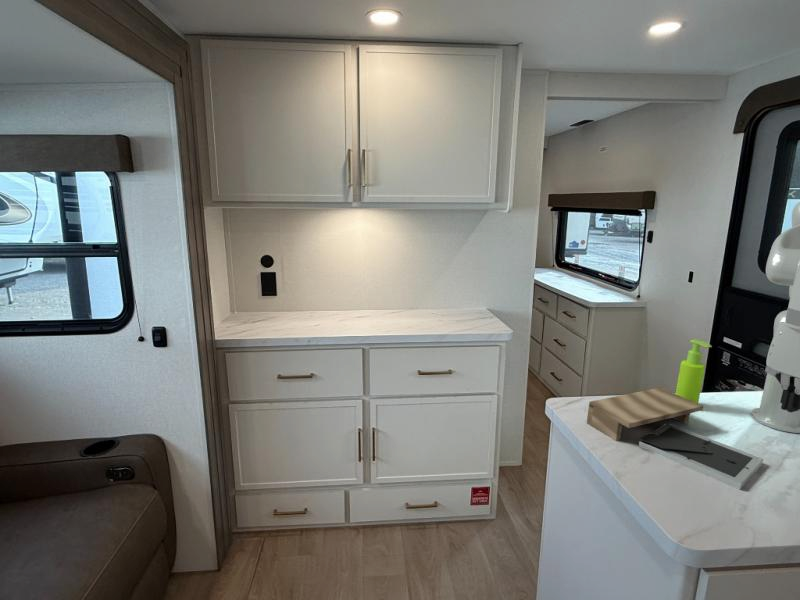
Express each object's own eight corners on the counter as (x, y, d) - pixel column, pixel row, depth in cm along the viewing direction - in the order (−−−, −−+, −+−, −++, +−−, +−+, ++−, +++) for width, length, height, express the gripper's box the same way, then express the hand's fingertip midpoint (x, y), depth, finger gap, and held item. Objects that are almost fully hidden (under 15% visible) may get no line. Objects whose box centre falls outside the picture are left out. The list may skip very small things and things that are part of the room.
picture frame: (638, 448, 111) (739, 492, 95) (639, 438, 110) (741, 480, 95) (665, 429, 121) (761, 467, 105) (667, 420, 120) (764, 456, 104)
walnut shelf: (656, 407, 132) (660, 387, 131) (699, 427, 121) (703, 406, 120) (586, 423, 122) (589, 401, 120) (625, 446, 110) (629, 423, 109)
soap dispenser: (689, 412, 130) (701, 345, 125) (669, 401, 136) (680, 338, 131) (705, 410, 131) (718, 344, 127) (684, 399, 138) (696, 336, 133)
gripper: (874, 329, 81) (848, 424, 85) (778, 309, 94) (759, 392, 98) (851, 333, 78) (826, 430, 82) (756, 312, 91) (738, 397, 95)
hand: (790, 409), depth 90 cm, fingers closed
